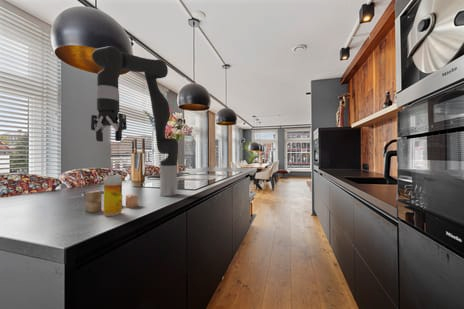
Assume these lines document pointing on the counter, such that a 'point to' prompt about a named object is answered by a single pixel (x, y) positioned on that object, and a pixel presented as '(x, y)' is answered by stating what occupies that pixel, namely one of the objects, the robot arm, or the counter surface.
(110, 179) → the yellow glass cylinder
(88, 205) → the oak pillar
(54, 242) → the counter surface
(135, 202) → the pinkish brown block
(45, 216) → the counter surface
